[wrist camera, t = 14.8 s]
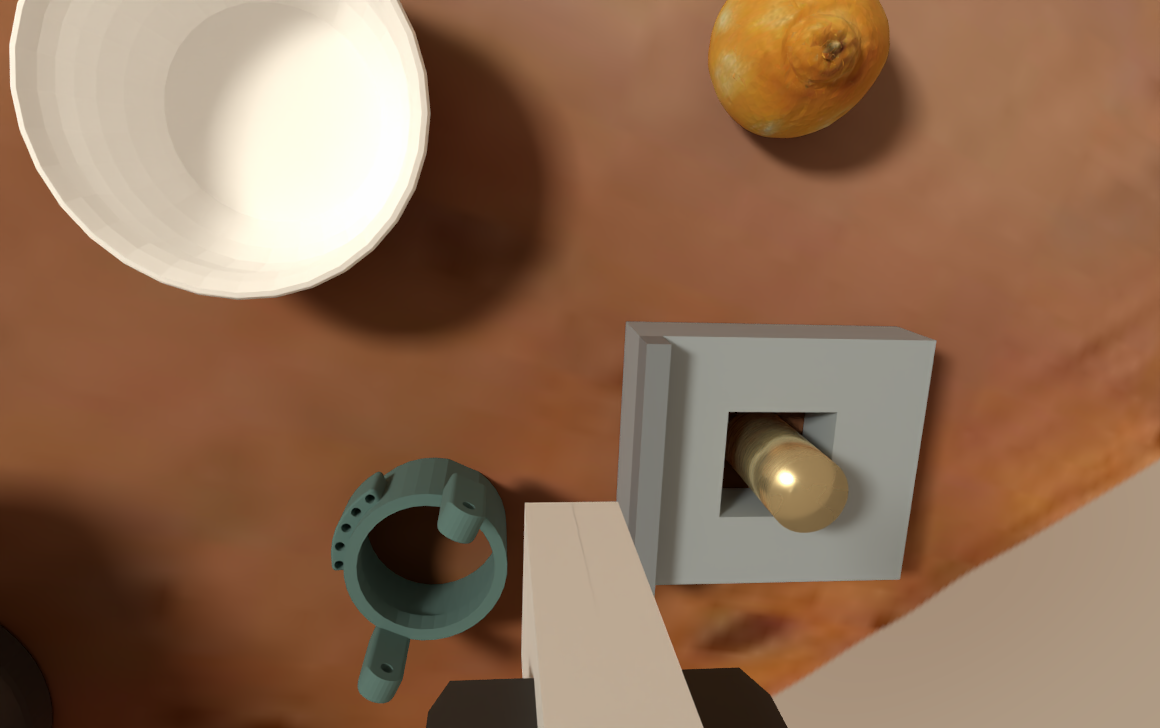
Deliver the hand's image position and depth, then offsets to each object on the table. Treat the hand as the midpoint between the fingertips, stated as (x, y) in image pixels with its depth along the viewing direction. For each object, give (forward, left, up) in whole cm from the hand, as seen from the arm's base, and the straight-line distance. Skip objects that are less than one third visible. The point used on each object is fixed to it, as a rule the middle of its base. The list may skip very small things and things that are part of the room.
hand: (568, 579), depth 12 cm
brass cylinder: (+14, -8, -29) cm, 34 cm away
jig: (+14, -8, -29) cm, 34 cm away
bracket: (-5, -13, -30) cm, 33 cm away
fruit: (+13, +13, -30) cm, 35 cm away
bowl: (-12, +9, -30) cm, 33 cm away
